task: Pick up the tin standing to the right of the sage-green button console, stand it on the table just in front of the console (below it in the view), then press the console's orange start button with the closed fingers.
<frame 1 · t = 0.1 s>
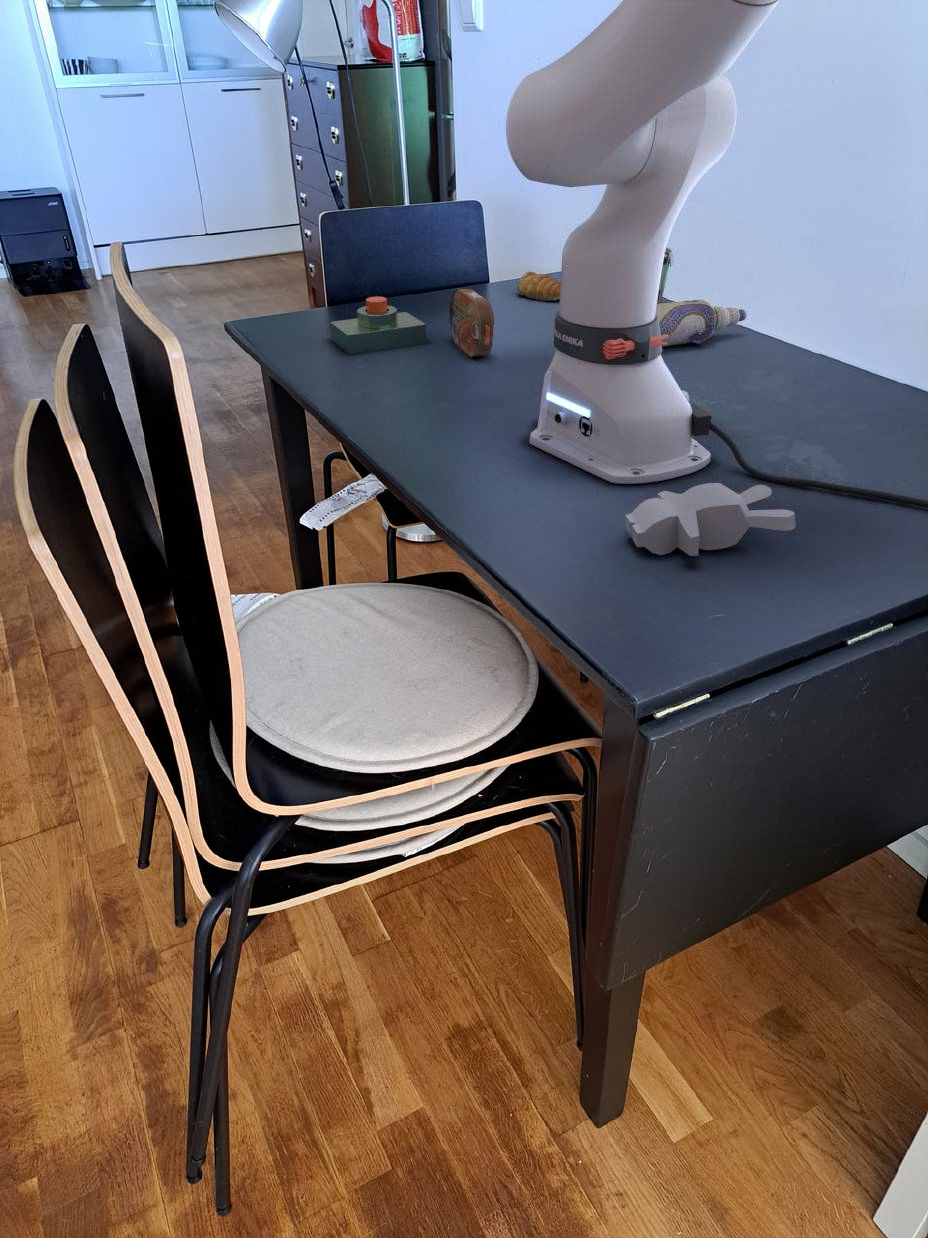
console: (378, 341, 141), on the table
bunny figurine: (702, 542, 87), on the table
pastry: (541, 296, 165), on the table
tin: (471, 350, 138), on the table
decorative bottle: (673, 347, 139), on the table
grey brown rounded block: (638, 307, 158), on the table
start button: (376, 305, 138), point 6 cm above the table, slide at 0.1 cm
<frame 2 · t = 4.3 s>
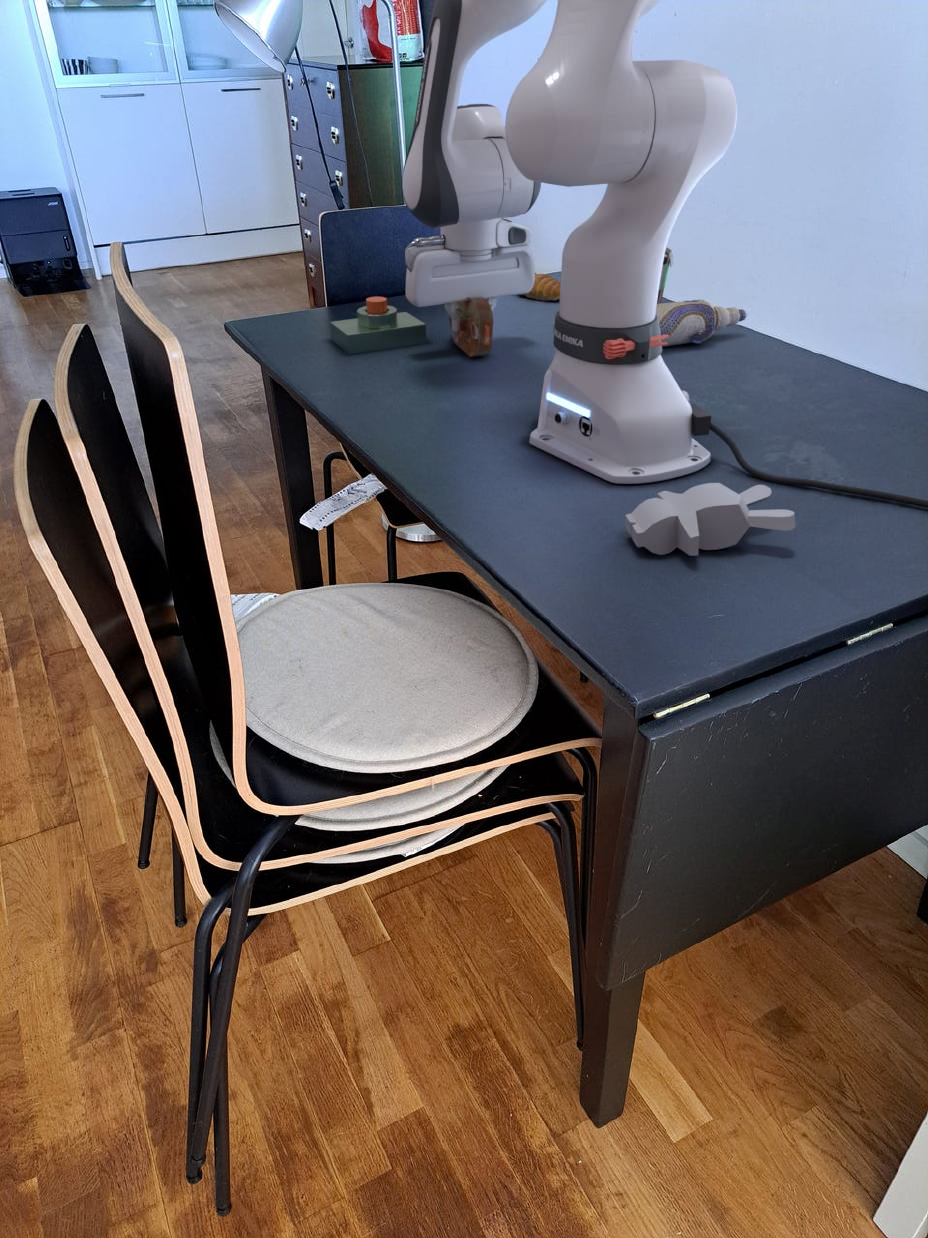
hand: (470, 328, 136), 3 cm above the table, tool pointing down, fingers closed on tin, 3 cm apart
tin: (471, 350, 138), on the table, touching gripper
everything else where it was.
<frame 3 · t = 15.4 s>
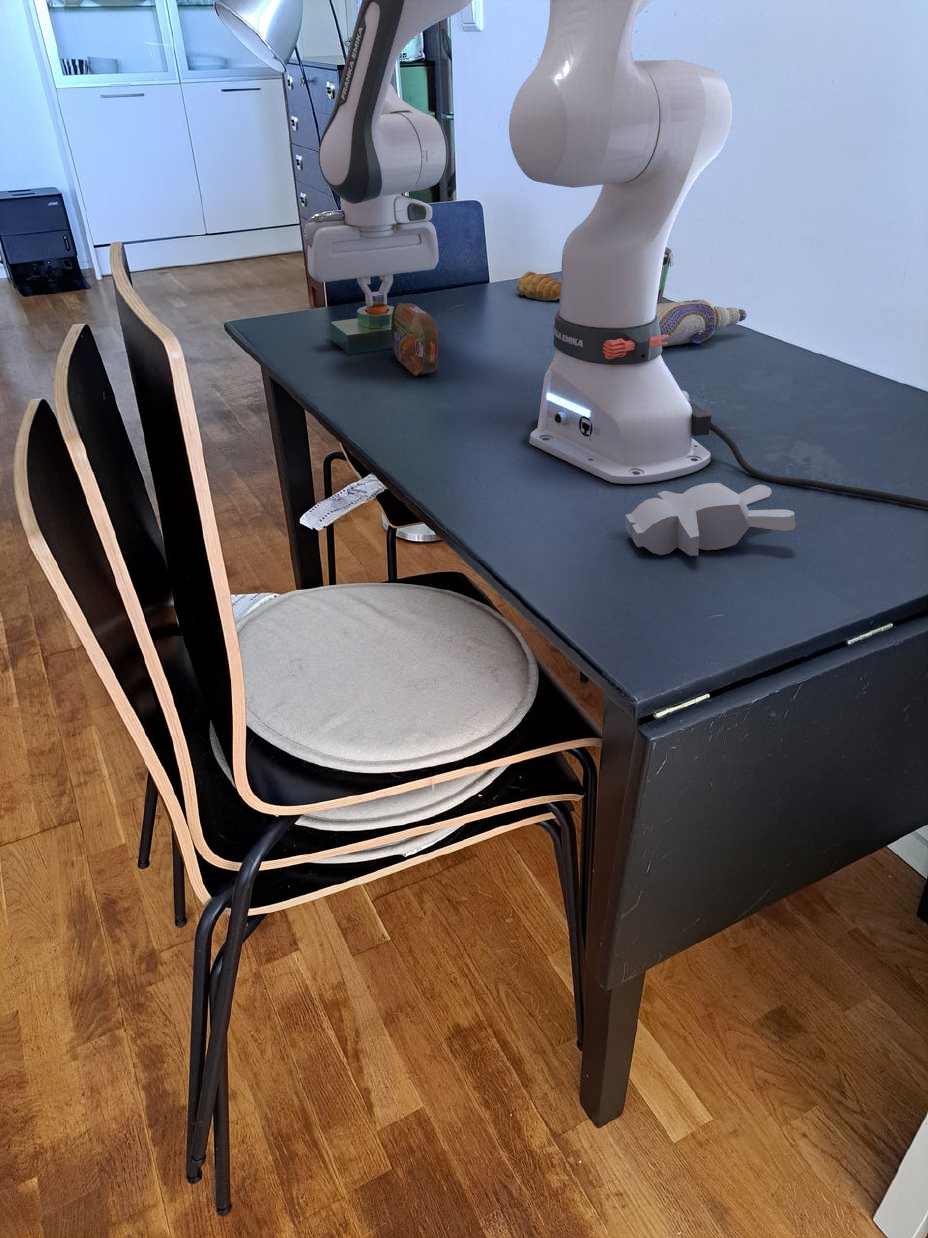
hand: (376, 305, 138), 6 cm above the table, tool pointing down, fingers closed, pressing on start button
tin: (415, 367, 131), on the table
start button: (377, 312, 139), point 5 cm above the table, slide at -0.9 cm, touching gripper
everything else where it was.
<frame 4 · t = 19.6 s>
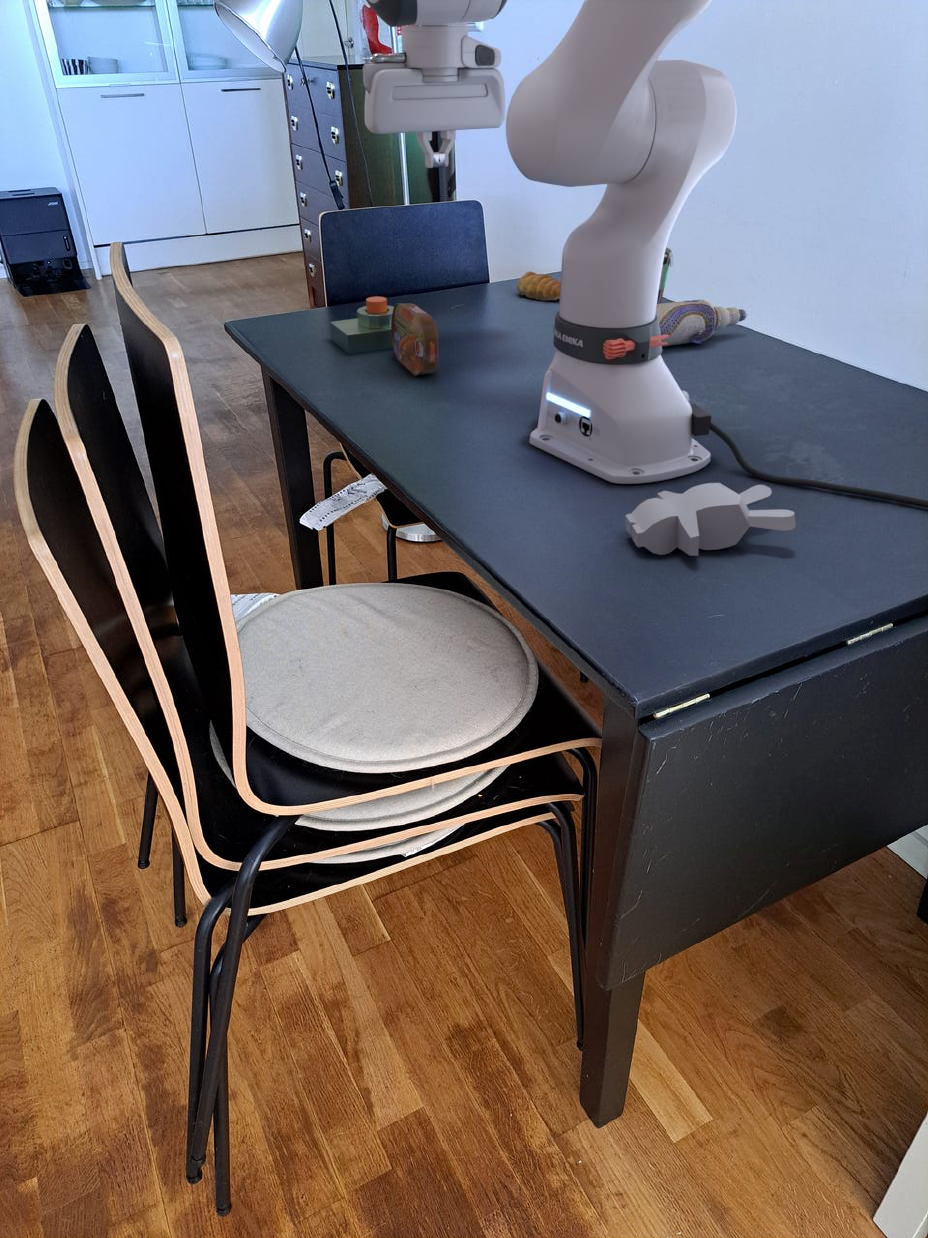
hand: (436, 166, 126), 25 cm above the table, tool pointing down, fingers closed
start button: (376, 305, 138), point 6 cm above the table, slide at 0.1 cm
everything else where it was.
at the end: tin inside the target area (0.4 cm from its centre), on the table; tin tilted 0°; start button pushed in 1.3 cm at the most during the clip, back to where it started at the end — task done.
